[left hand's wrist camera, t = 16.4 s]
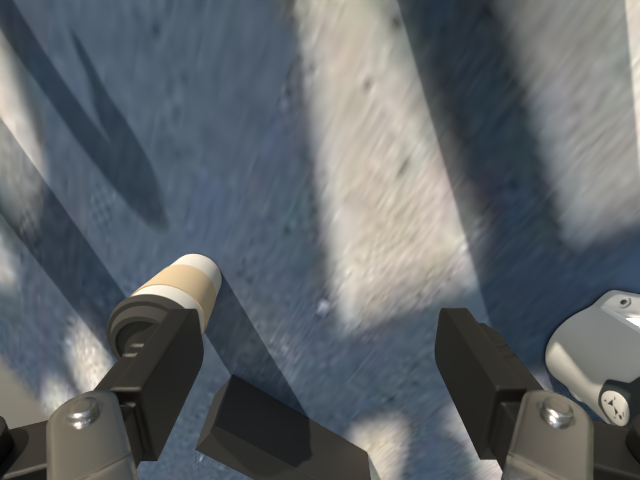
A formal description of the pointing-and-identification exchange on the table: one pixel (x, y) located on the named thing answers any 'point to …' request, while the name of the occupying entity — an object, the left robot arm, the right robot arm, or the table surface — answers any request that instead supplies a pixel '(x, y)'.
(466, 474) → the table surface
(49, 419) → the left robot arm
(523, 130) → the table surface
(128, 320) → the coffee cup
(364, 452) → the bar
